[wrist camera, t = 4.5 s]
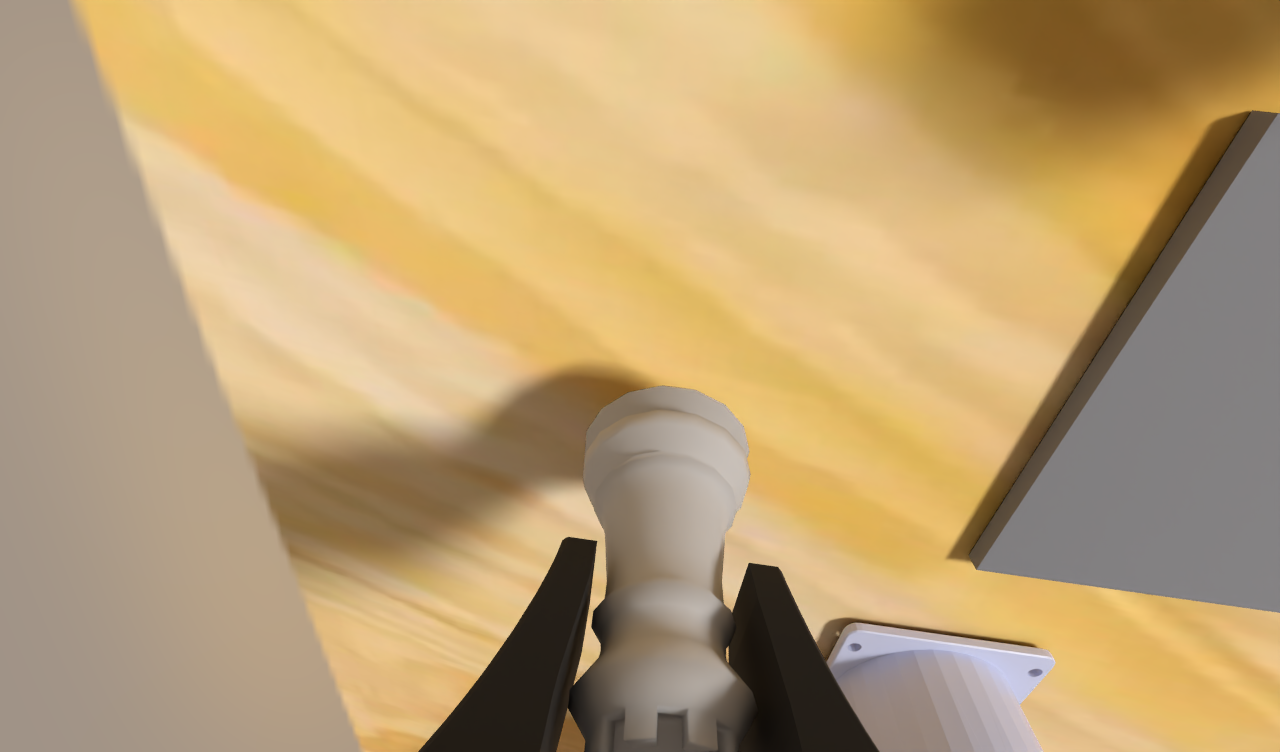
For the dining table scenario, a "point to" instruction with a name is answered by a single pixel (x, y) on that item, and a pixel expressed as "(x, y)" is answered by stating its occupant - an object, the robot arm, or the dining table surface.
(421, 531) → the dining table surface
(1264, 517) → the rubber mat
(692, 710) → the rook chess piece
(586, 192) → the dining table surface
